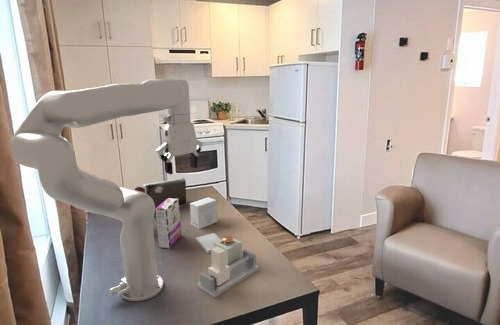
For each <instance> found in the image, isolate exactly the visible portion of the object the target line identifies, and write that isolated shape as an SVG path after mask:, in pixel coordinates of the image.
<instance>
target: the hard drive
mask: <svg viewBox="0 0 500 325" xmlns="http://www.w3.org/2000/svg"><path fill="white" fill-rule="evenodd" d="M220 239H221V238H220V237H219V236H218V235H217V234H216V233H215V232H212V233H209V234H205V235H201V236H196V238H195V241H196V242H197V243H198V244H199V245H200V246H201V247H202V249H204V251H205V252H206V254H211V249H212V248H214V242H216V241H218V240H220Z"/></svg>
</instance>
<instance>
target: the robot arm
mask: <svg viewBox="0 0 500 325" xmlns="http://www.w3.org/2000/svg"><path fill="white" fill-rule="evenodd" d="M189 86H190V84H189V82H188V81H187V80H185V79H168V78H166V79H165V78H164V79H163V78H161V79H160V78H159V79H157V78H156V79H155V78H153V79H146V80H144V81H142V83H116V84H109V85H108V84H107V85H103V86H97V87H90V88H84V89H79V90H78V89H77V90H67V91H66V90H52V91H49V92H47V93H46V94H44V95H43V96H42V97H41V98H40V99H39V100H38V101H37V102H36V104H35V105H34V106H33V108H32V109H31V110H30V112H29V113H28V114H27V116H26V117H25V118H24V120H23V121H22V122H21V124H20V125H19V127H18V128H17V129H16V131H15V133H14V134H13V136H12V137H11V139H10V142H11V149H12V154H13V157H14V159H15V160H14V159H13V160H14V161H15V163H18V164H20V165H21V166H24V167H27V168H31V169H33V170H34V169H35V170H37V171H38V177H39V178H38V179H39V182H40V185H41V187H42V189H43V191H44V192H45V193H46V194H47V195H48V196H49V197H50V198H52V199H53V200H56V201H58V202H61V203H63V204H64V203H65V204H67V205H70V206H72V207H74V208H76V209H79V210H82V211H85V212H88V213H91V214H95V215H102V216H105V217H109V218H111V219H114V220H117V221H120V222H121V223H122V229H121V231H120V235H119V242H120V245H119V246H120V252H121V253H120V254H121V258H122V259H121V260H122V261H121V262H122V268H123V274H124V275H123V276H124V277H123V278H121V282H120V283H118V285H116V286H114V287H111V288H109V289H108V293H109V295H110V296H111V297H112V296H114V295H116V294H117V297H119V298H120V297H122V298H123V299H125V300H127V301H130V302H140V301H145V300H149V299H152V298H153V297H155V296H156V295H158V294H159V293H160V292H161V291H162V289H163V288H164V280H163V278H162V276H160V275H158V268H157V265H158V264H157V256H156V254H157V253H156V244H155V243H156V242H155V232H154V222H155V215H156V214H155V204H154V201H153V199H152V198H151V197H150V196H149V195H147V194H145V193H143V192H140V191H137V190H135V189H131V188H127V187H123V186H119V185H118V184H117V183H116V182H114V181H111V180H110V179H108V178H105V177H100V176H96V175H94V174H91V173H90V172H87V171H84V170H83V169H81V168H80V167H79V166H78V163H77V157H76V153H75V152H76V151H75V150H74V147H73V145H72V143H71V142H70V141H69V140H68V139H66V138H65V137H63V136H61V135H60V134H61V133H62V132H63V130H64V128H73V129H77V128H84V127H88V126H94V125H97V124H100V123H105V122H108V121H111V120H115V119H120V118H124V117H132V116H138V115H142V114H148V113H153V112H155V113H156V112H159V111H164V110H165V113H166V114H165V116H164V117H163V119H162V120H163V121H164V122H166V123H165V125H164V131H163V132H164V134H163V144H161V146H158V148H156V149H155V152H156V154H157V155H158V157H159V159H161V161H163V162H164V171H165V173H166V174H168V175H173V172H174V171H173V163H172V159H173V157H179V156H184V155H189V154H190V155H189V166H190V168H193V169H198V157H199V154H200V152H201V150H202V147H203V142H202V141H200V140H199V139H198V140H197V135H196V128H195V126H194V122H192V120H191V109H190V108H191V105H190V104H191V103H190V88H189ZM163 152H164V153H165V154H164V153H163Z"/></svg>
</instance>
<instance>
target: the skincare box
mask: <svg viewBox="0 0 500 325" xmlns="http://www.w3.org/2000/svg"><path fill="white" fill-rule="evenodd" d="M217 201H218V200H217V199H215V198H212V197H209V196H208V197H205V198H202V199H198V200H196V201H193V202H190V203H189V208H190V209H189V212H190V225H191V226H193V227H195V228H197V229H199V230H200V229H203V228H205V227H208V226H211V225H213V224H216V223H218V221H219V220H218V204H217V203H218V202H217Z"/></svg>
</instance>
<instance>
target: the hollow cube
mask: <svg viewBox="0 0 500 325" xmlns="http://www.w3.org/2000/svg"><path fill="white" fill-rule="evenodd" d="M216 246H217V247H219V248H221V249H223V250H225V251H226V265H230V264H232V263H234V262H235V261H237V260H239V259H241V258H243V242H242V241H241V240H238V239H236V238H235V237H233V241H232V244H231V245H229V246H226V245H224V243H223V237H222V238H220V240H218V241H216V242H214V247H216Z"/></svg>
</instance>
